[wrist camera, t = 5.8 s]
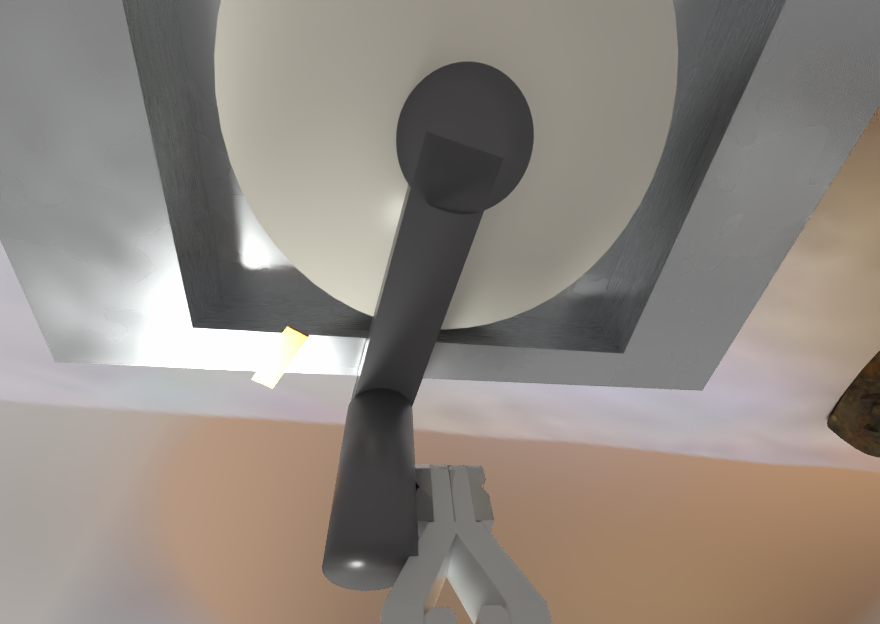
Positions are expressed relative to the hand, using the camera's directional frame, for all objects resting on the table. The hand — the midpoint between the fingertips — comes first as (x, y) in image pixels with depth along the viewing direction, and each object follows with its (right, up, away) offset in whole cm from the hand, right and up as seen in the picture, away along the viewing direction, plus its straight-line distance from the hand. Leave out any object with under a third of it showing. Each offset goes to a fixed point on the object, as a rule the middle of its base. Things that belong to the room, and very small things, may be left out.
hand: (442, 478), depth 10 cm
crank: (0, +8, +1) cm, 9 cm away
